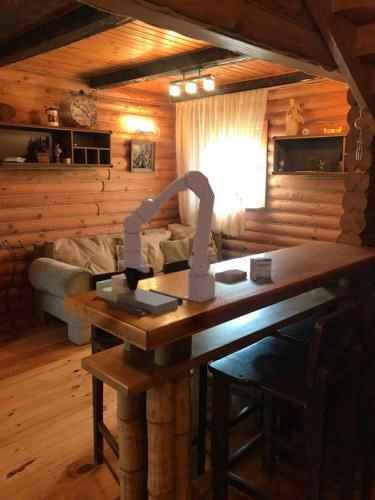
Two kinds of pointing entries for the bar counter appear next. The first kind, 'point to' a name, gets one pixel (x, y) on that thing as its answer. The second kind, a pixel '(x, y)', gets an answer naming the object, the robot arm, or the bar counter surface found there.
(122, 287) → the ash block
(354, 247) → the bar counter surface
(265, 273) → the medicine box
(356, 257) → the bar counter surface
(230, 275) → the stone block
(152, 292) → the trap causeway
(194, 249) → the robot arm
